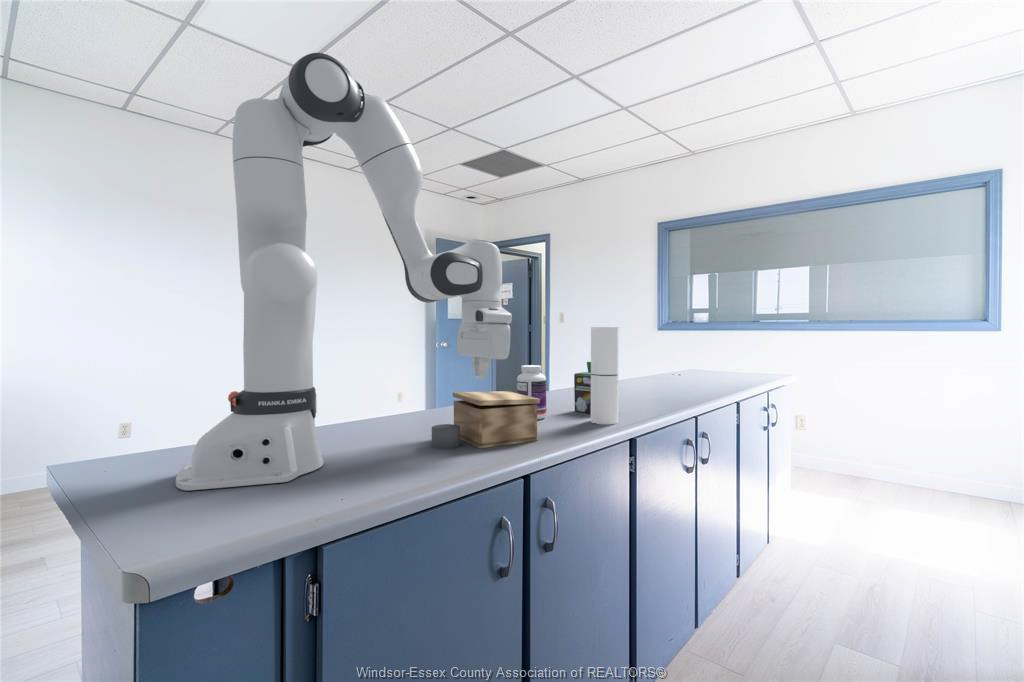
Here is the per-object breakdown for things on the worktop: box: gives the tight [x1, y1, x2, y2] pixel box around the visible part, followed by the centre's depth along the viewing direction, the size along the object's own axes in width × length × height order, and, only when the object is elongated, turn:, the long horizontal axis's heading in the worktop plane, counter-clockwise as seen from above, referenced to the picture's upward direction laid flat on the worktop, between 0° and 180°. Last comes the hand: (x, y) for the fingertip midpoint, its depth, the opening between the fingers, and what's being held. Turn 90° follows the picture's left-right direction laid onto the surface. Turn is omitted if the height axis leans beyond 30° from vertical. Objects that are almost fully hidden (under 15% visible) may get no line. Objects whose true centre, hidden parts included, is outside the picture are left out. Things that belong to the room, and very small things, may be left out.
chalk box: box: [573, 361, 591, 415], centre depth 146 cm, size 9×9×15 cm
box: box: [453, 399, 538, 449], centre depth 111 cm, size 14×14×8 cm
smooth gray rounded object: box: [431, 423, 461, 450], centre depth 104 cm, size 6×6×4 cm
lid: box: [452, 390, 540, 406], centre depth 111 cm, size 15×15×1 cm
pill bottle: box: [516, 364, 547, 421], centre depth 135 cm, size 8×8×14 cm
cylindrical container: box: [590, 326, 620, 425], centre depth 130 cm, size 7×7×25 cm
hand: (480, 377), depth 109 cm, fingers closed
